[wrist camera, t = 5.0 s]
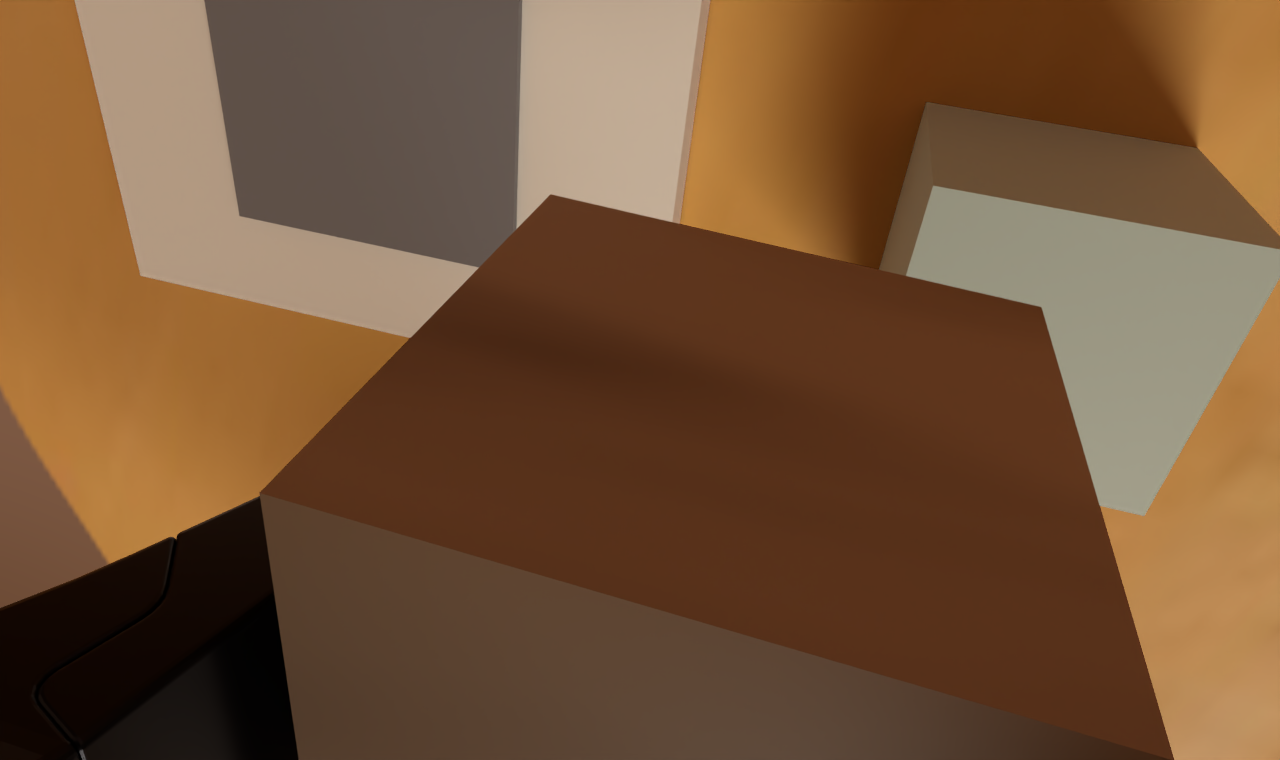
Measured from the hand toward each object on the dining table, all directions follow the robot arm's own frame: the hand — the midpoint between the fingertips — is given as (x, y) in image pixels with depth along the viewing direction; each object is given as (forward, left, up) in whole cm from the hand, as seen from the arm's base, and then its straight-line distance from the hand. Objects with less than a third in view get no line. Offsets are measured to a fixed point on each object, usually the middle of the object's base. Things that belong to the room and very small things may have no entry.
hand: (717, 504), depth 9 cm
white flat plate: (0, +10, -11) cm, 15 cm away
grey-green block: (-1, -4, -11) cm, 12 cm away
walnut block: (0, 0, -1) cm, 1 cm away
